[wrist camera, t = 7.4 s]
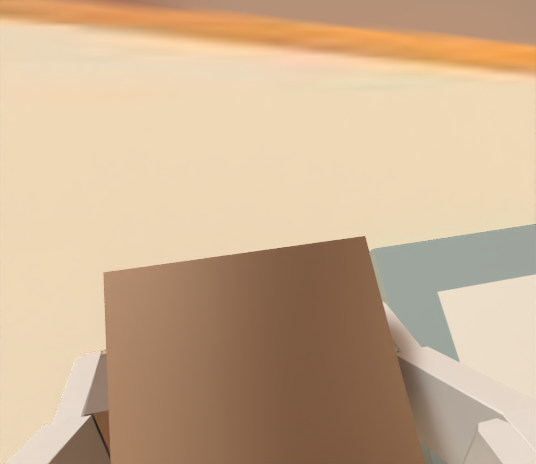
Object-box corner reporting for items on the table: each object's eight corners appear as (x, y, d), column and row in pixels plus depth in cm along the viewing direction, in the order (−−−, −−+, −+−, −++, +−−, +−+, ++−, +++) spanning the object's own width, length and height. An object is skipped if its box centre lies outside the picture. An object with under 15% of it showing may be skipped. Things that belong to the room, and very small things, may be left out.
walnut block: (189, 433, 12) (111, 637, 4) (178, 316, 13) (99, 269, 5) (300, 408, 13) (447, 533, 4) (280, 299, 14) (367, 232, 6)
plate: (439, 527, 17) (455, 541, 16) (365, 254, 21) (373, 248, 20) (669, 460, 19) (698, 468, 18) (561, 223, 23) (579, 217, 22)
